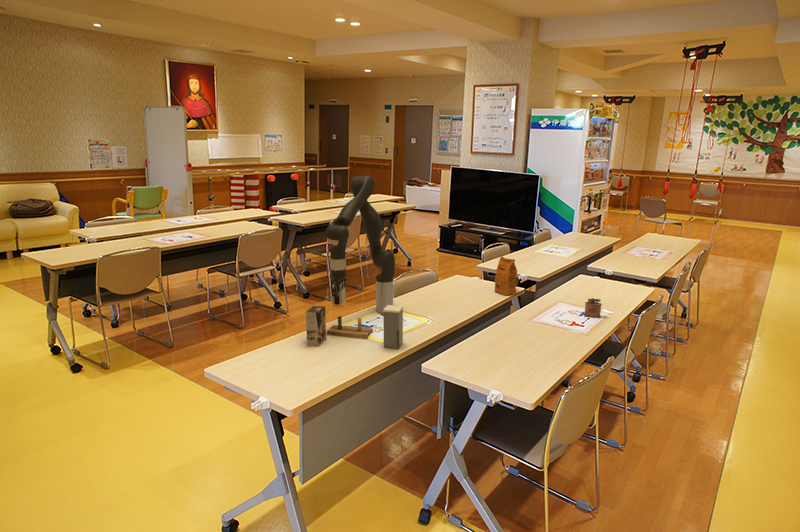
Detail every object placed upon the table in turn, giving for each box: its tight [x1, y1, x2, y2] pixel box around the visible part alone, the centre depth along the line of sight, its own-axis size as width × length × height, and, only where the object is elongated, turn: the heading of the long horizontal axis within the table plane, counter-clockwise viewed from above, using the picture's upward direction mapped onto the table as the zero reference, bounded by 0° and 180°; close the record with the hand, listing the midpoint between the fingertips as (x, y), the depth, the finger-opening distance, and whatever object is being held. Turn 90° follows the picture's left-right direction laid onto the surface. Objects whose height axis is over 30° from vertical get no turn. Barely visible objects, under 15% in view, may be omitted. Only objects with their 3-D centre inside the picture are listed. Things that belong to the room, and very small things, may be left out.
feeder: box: [382, 304, 404, 350], centre depth 233 cm, size 7×7×18 cm
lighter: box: [583, 297, 603, 319], centre depth 271 cm, size 8×3×10 cm, turn 73°
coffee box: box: [305, 305, 327, 347], centre depth 237 cm, size 9×6×16 cm
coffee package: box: [494, 255, 518, 296], centre depth 312 cm, size 10×12×22 cm
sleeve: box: [331, 288, 347, 308], centre depth 246 cm, size 5×5×8 cm
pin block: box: [326, 315, 374, 340], centre depth 248 cm, size 9×20×8 cm, turn 76°
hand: (339, 302), depth 247 cm, fingers closed on sleeve, 5 cm apart
